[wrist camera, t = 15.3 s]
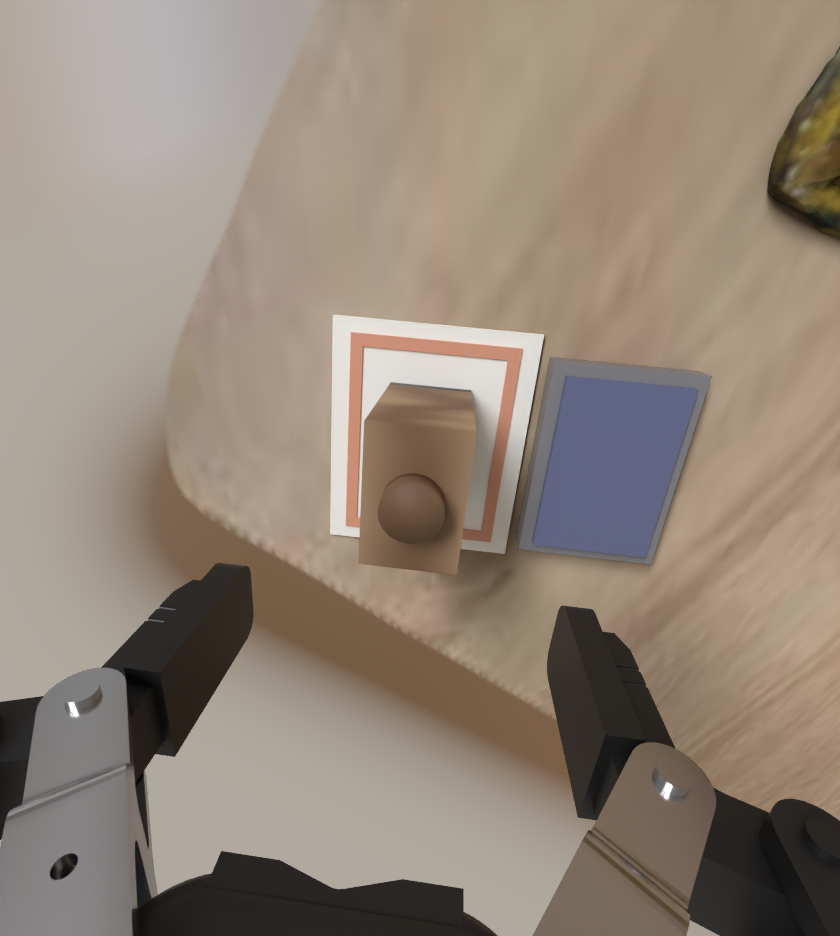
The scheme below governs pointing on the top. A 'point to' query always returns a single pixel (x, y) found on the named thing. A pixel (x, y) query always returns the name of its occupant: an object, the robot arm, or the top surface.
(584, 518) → the ink pad
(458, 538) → the stamp
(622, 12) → the top surface
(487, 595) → the top surface
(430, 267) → the top surface
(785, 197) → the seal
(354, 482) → the paper sheet
